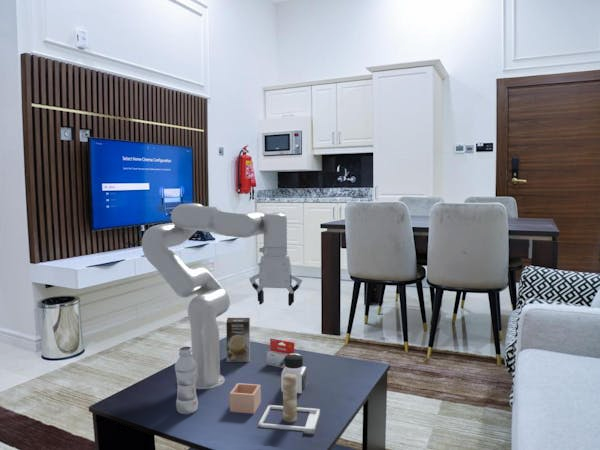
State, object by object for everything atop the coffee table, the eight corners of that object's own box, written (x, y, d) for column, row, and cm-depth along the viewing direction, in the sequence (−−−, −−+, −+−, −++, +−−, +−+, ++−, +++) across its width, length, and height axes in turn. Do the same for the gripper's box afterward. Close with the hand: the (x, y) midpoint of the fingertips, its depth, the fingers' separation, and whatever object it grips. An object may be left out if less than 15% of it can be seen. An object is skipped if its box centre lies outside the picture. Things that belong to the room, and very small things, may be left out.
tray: (258, 429, 137) (258, 424, 137) (268, 409, 149) (268, 404, 149) (314, 434, 134) (314, 429, 134) (320, 413, 146) (320, 409, 146)
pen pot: (230, 414, 146) (229, 393, 146) (237, 402, 154) (237, 383, 153) (254, 416, 145) (254, 395, 144) (260, 404, 152) (260, 384, 152)
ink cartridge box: (291, 370, 180) (291, 344, 179) (266, 364, 186) (266, 339, 185) (295, 367, 182) (294, 342, 181) (270, 362, 188) (269, 338, 187)
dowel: (281, 422, 140) (281, 378, 139) (284, 415, 144) (284, 373, 143) (295, 423, 139) (295, 379, 138) (298, 416, 143) (297, 374, 142)
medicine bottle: (302, 395, 159) (302, 360, 157) (281, 393, 160) (280, 358, 159) (306, 386, 166) (306, 352, 164) (286, 384, 167) (285, 351, 166)
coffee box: (226, 362, 188) (225, 322, 186) (227, 356, 194) (226, 317, 193) (249, 362, 188) (249, 321, 187) (250, 356, 195) (250, 317, 193)
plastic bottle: (187, 419, 143) (185, 353, 141) (171, 413, 146) (169, 349, 145) (202, 410, 148) (201, 347, 146) (186, 405, 152) (185, 343, 150)
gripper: (246, 253, 153) (246, 306, 155) (299, 254, 150) (300, 308, 152) (252, 249, 161) (253, 300, 162) (303, 250, 158) (304, 302, 159)
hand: (275, 304), depth 157 cm, fingers open, 9 cm apart
